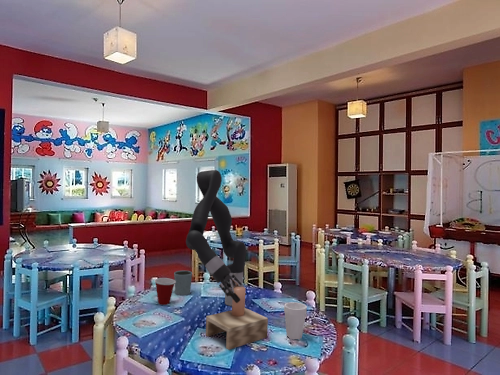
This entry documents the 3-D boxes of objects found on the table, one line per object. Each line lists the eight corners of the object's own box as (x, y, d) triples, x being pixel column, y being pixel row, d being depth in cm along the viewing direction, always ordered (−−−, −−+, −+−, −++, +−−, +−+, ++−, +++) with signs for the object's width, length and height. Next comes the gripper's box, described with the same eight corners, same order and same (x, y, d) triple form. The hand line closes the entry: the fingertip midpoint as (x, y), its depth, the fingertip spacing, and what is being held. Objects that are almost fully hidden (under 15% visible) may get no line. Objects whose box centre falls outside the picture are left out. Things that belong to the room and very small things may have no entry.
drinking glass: (194, 292, 208) (195, 271, 208) (185, 297, 198) (186, 275, 198) (179, 290, 211) (179, 269, 211) (169, 294, 201) (170, 273, 201)
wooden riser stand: (243, 325, 161) (244, 307, 161) (267, 337, 149) (267, 318, 149) (205, 335, 149) (206, 316, 149) (228, 349, 136) (229, 328, 136)
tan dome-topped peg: (239, 311, 156) (240, 285, 156) (247, 314, 152) (248, 288, 152) (229, 313, 153) (230, 287, 153) (236, 317, 148) (238, 290, 149)
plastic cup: (169, 307, 180) (170, 283, 180) (149, 305, 182) (150, 281, 182) (178, 301, 191) (179, 278, 191) (159, 299, 193) (160, 276, 193)
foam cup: (291, 343, 144) (292, 310, 144) (278, 334, 153) (280, 303, 153) (310, 339, 149) (311, 308, 149) (297, 330, 157) (298, 301, 157)
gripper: (217, 266, 148) (243, 298, 144) (229, 260, 161) (252, 288, 158) (205, 278, 149) (230, 309, 146) (217, 271, 163) (240, 299, 159)
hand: (241, 298), depth 152 cm, fingers open, 8 cm apart
